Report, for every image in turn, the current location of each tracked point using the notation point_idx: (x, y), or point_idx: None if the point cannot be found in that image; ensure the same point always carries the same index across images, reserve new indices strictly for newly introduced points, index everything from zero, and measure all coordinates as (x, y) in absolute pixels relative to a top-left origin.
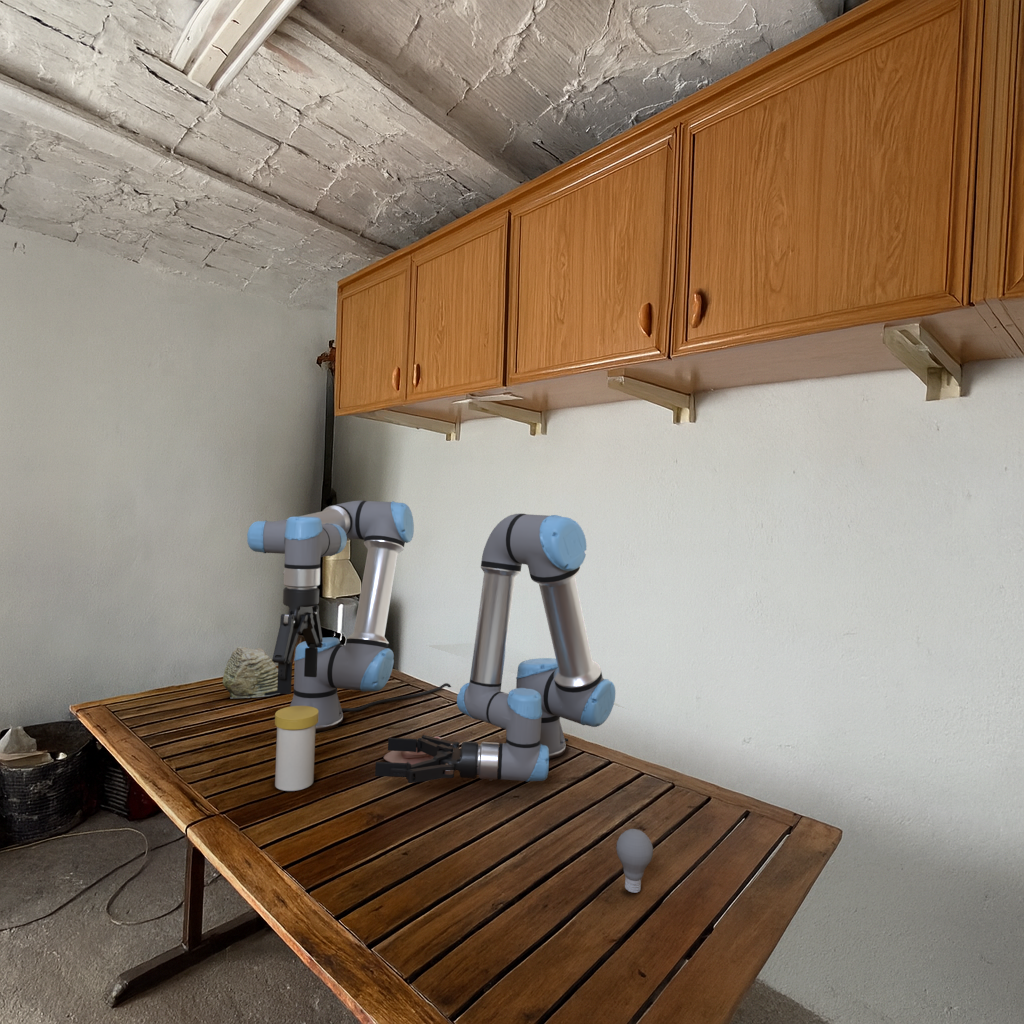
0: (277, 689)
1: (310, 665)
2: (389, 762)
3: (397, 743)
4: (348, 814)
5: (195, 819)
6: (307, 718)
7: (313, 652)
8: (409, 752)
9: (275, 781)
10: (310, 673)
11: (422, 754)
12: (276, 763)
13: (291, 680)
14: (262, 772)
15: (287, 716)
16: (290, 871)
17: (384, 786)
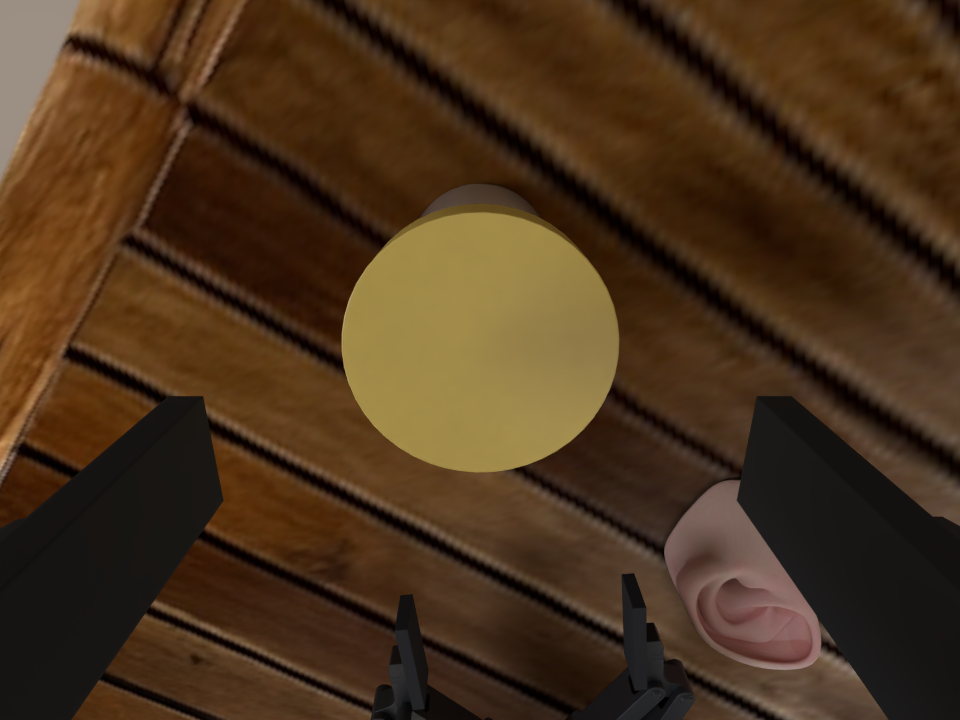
0: (149, 414)
1: (805, 529)
2: (414, 664)
3: (628, 624)
4: (321, 498)
5: (113, 37)
6: (405, 448)
7: (913, 704)
8: (706, 584)
9: (432, 203)
10: (762, 475)
11: (693, 622)
12: (421, 217)
13: (164, 583)
14: (545, 79)
15: (388, 331)
16: (15, 468)
17: (515, 535)
